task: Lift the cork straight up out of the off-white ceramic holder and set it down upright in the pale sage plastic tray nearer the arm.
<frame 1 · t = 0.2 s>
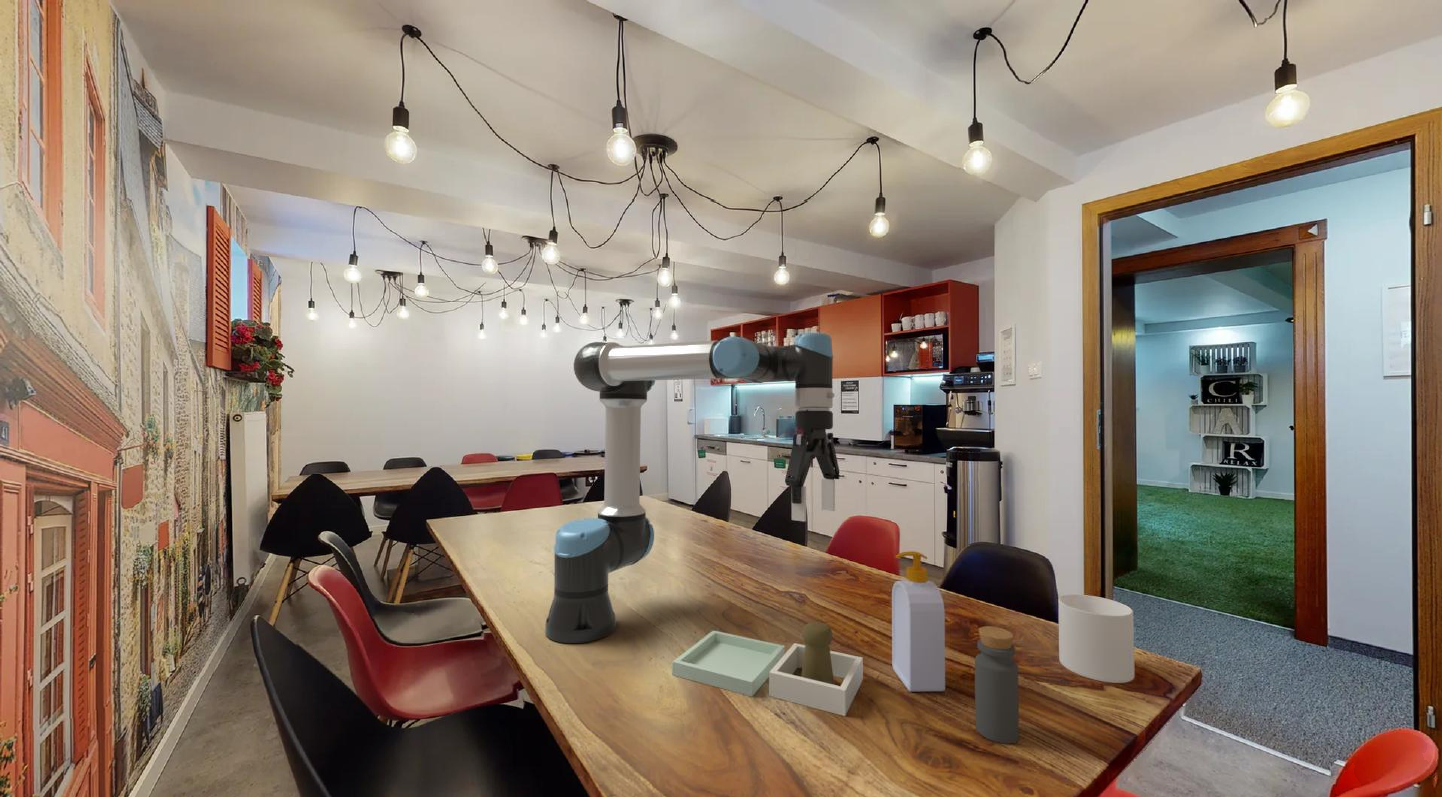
hand: (814, 515, 107), 28 cm above the table, fingers open, 13 cm apart
bottle: (996, 733, 80), on the table
cup: (1095, 668, 101), on the table
cork: (817, 688, 93), resting in holder
holder: (817, 687, 93), on the table
tray: (730, 666, 101), on the table
soap bottle: (915, 681, 96), on the table
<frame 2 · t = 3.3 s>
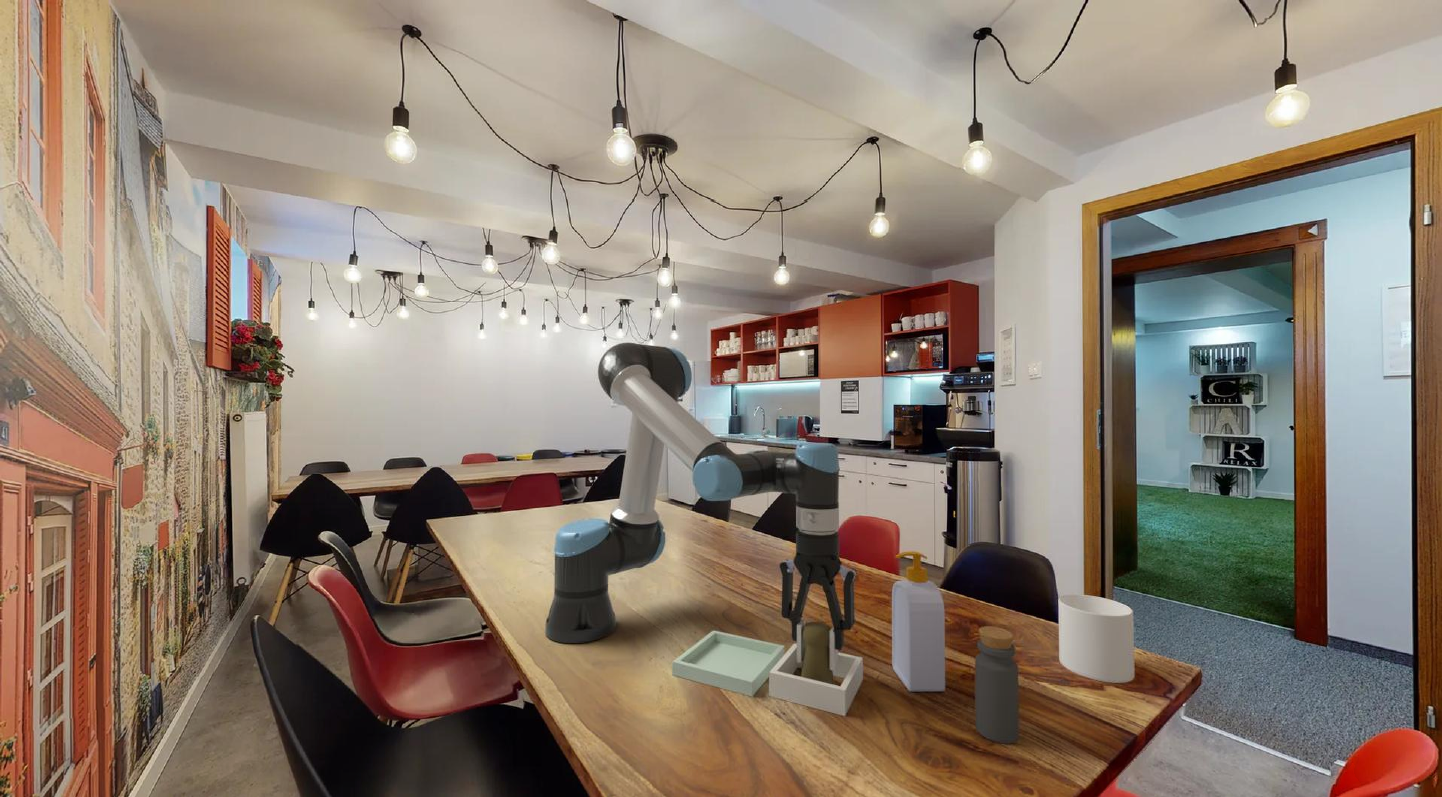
hand: (817, 662, 93), 4 cm above the table, fingers closed on cork, 5 cm apart
cork: (817, 688, 93), resting in holder, touching gripper
everything else where it was.
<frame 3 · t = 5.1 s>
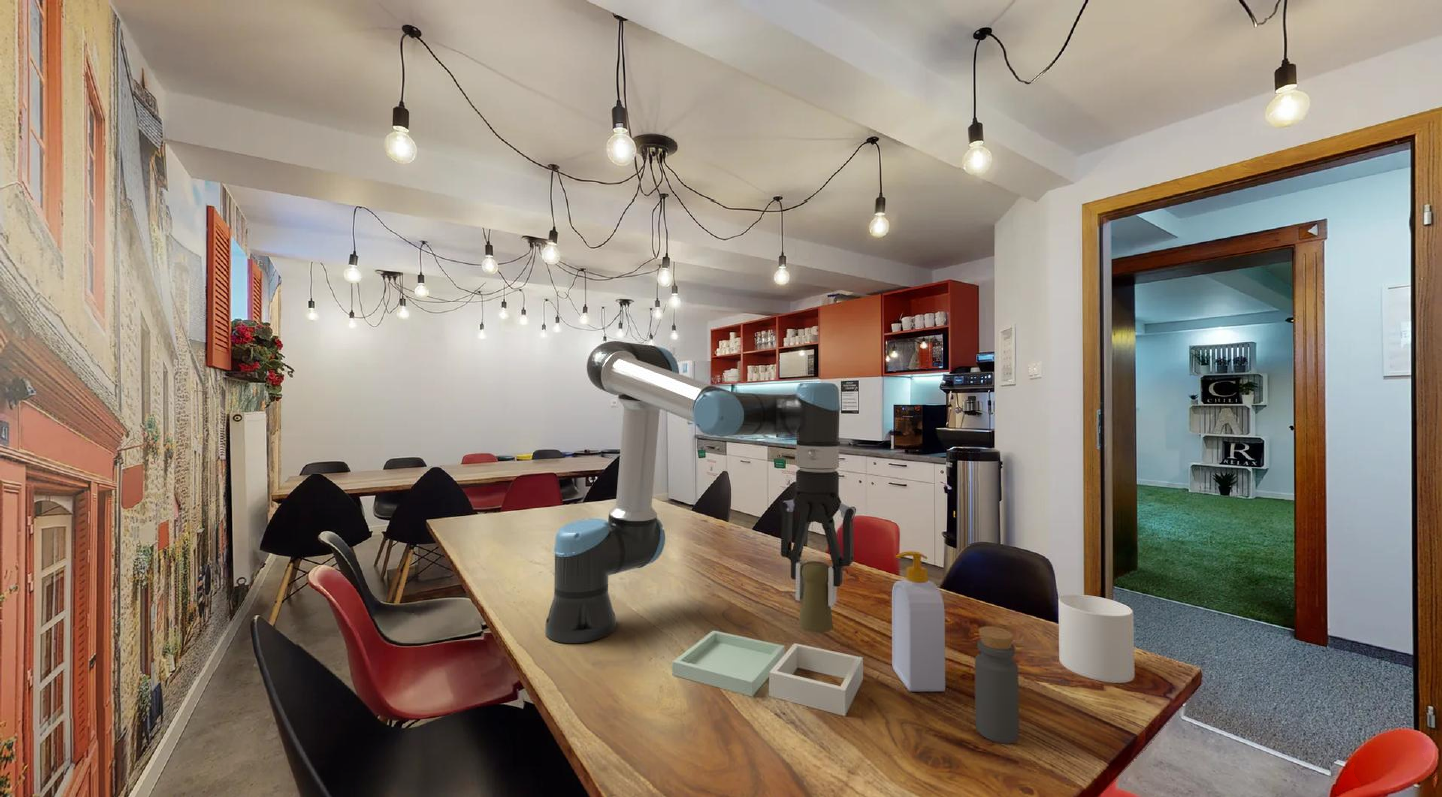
hand: (815, 600, 94), 15 cm above the table, fingers closed on cork, 5 cm apart
cork: (815, 626, 93), point 11 cm above the table, touching gripper
everything else where it was.
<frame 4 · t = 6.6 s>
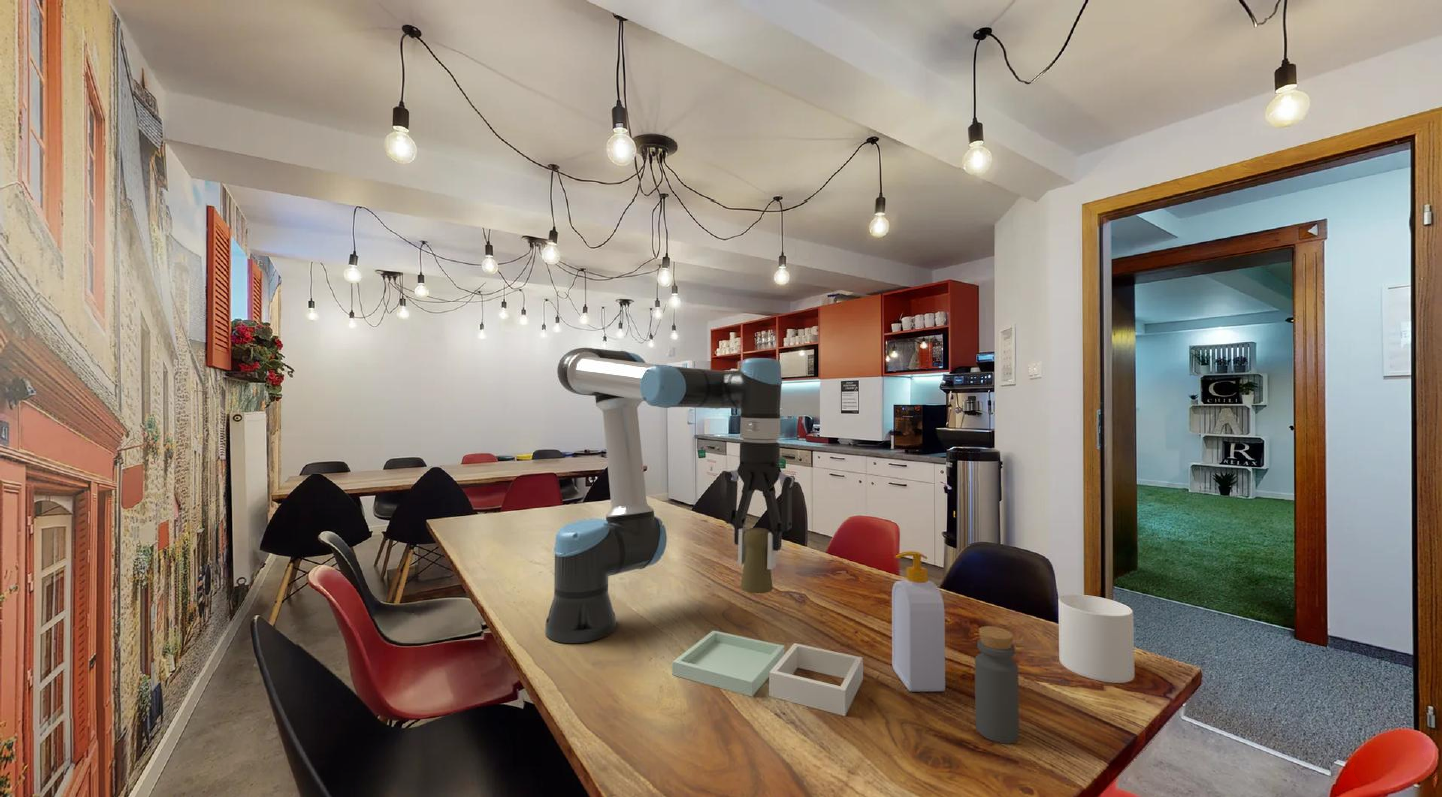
hand: (756, 564, 99), 20 cm above the table, fingers closed on cork, 5 cm apart
cork: (756, 588, 99), point 15 cm above the table, touching gripper
everything else where it was.
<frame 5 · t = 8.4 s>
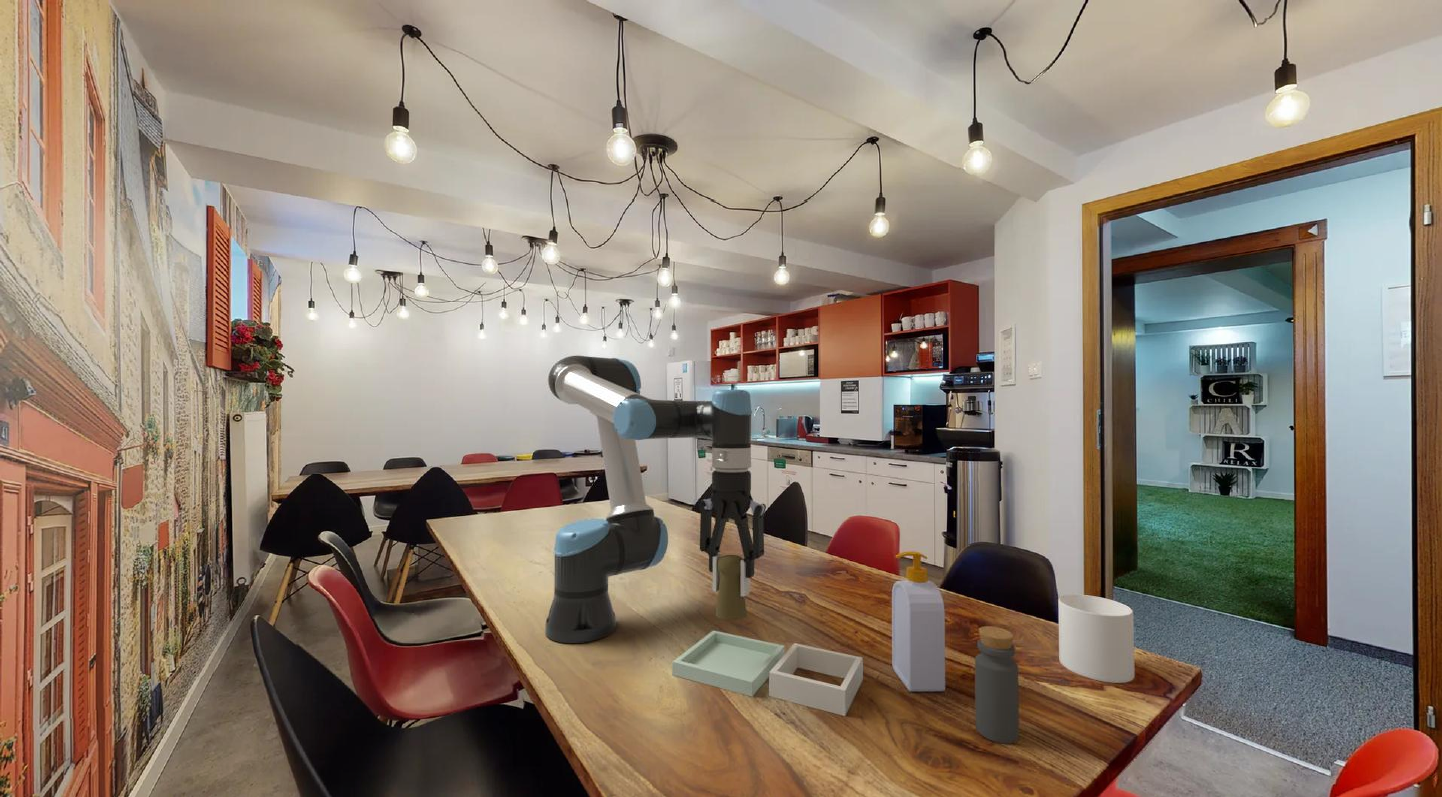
hand: (731, 591, 101), 14 cm above the table, fingers closed on cork, 5 cm apart
cork: (731, 615, 101), point 10 cm above the table, touching gripper
everything else where it was.
when the fingers open (6 cm above the table, at t = 10.1 s): cork drops 1 cm, resting on tray.
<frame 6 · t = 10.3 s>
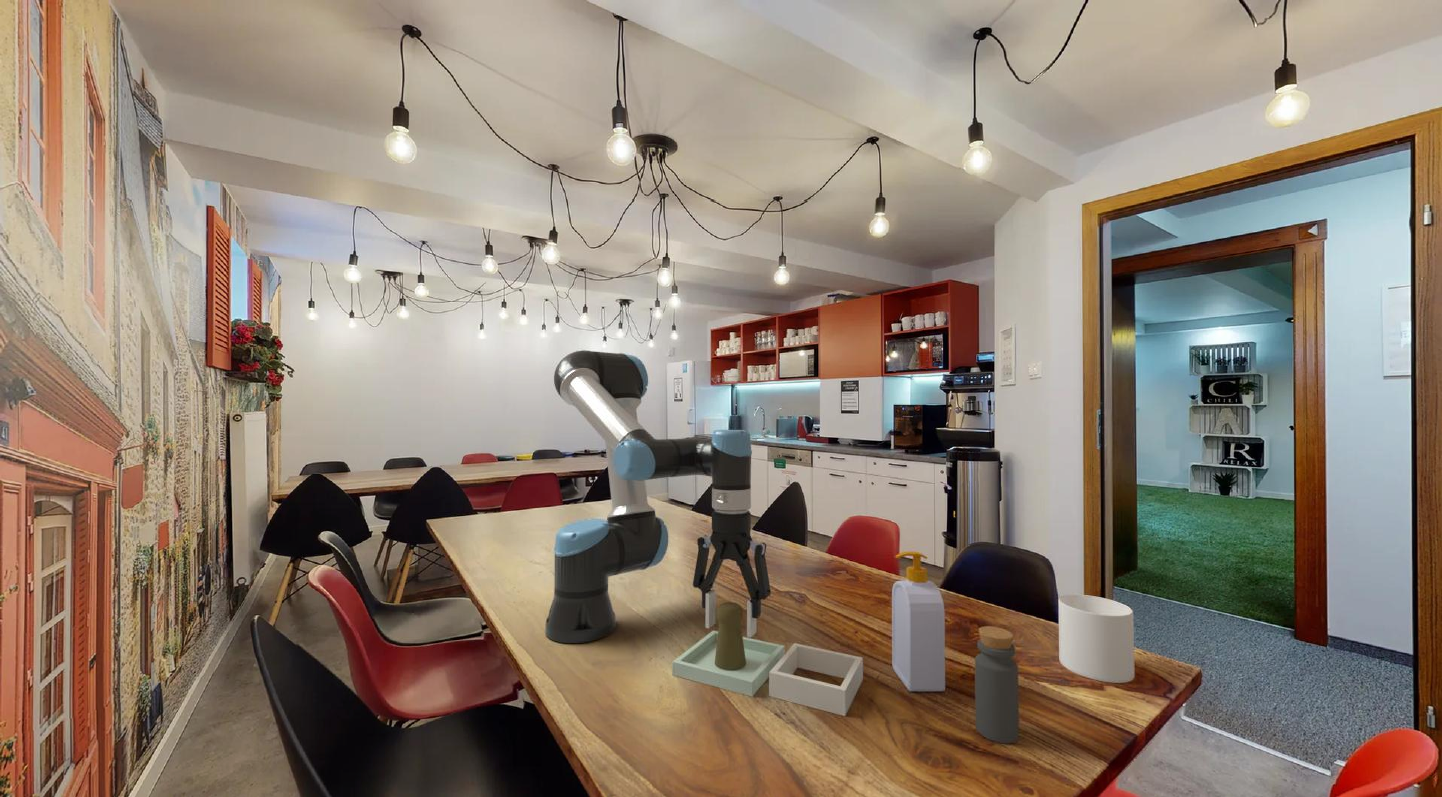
hand: (730, 629, 101), 7 cm above the table, fingers open, 8 cm apart
cork: (730, 663, 101), resting on tray
everything else where it was.
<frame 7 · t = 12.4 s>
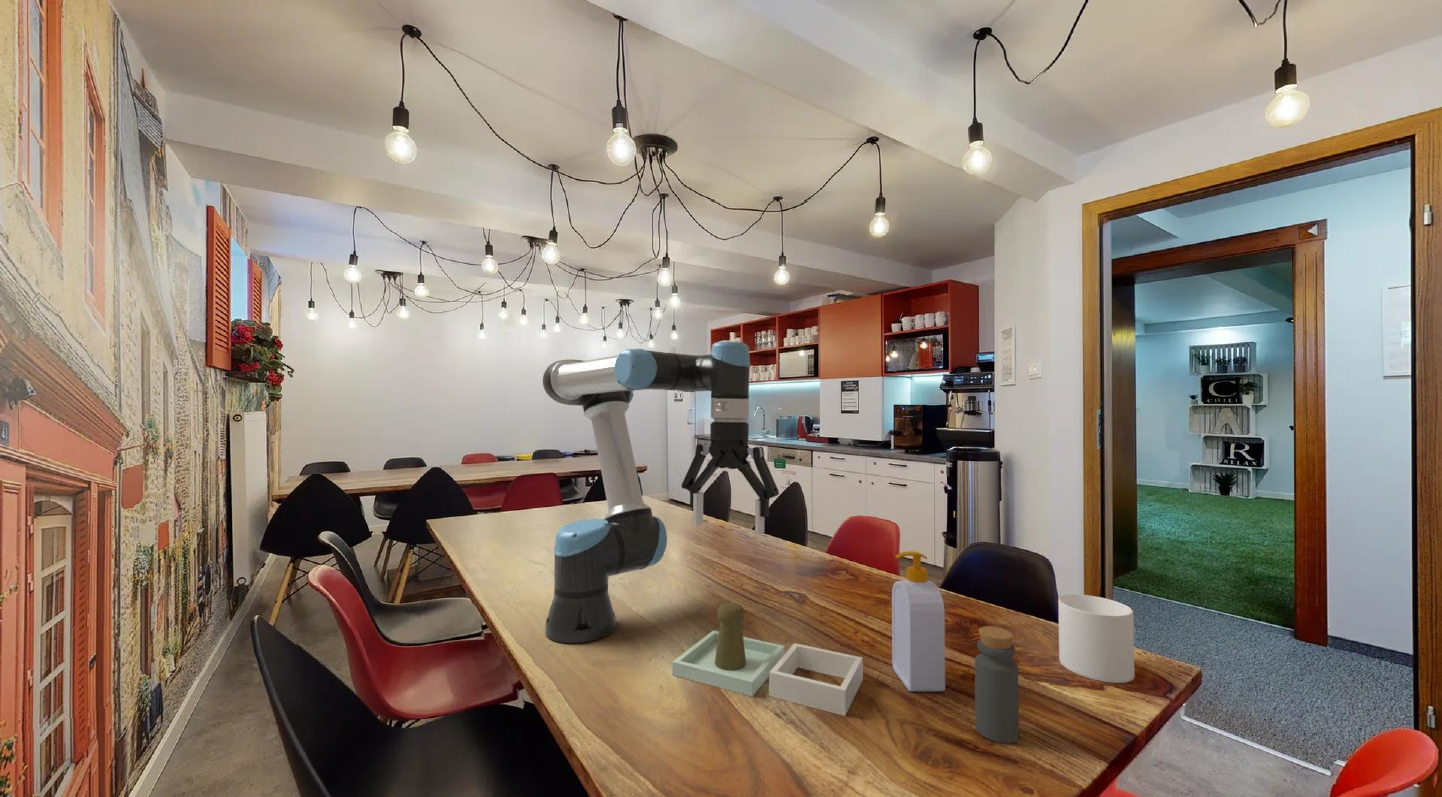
hand: (727, 529, 104), 25 cm above the table, fingers open, 13 cm apart
nothing on the table moved.
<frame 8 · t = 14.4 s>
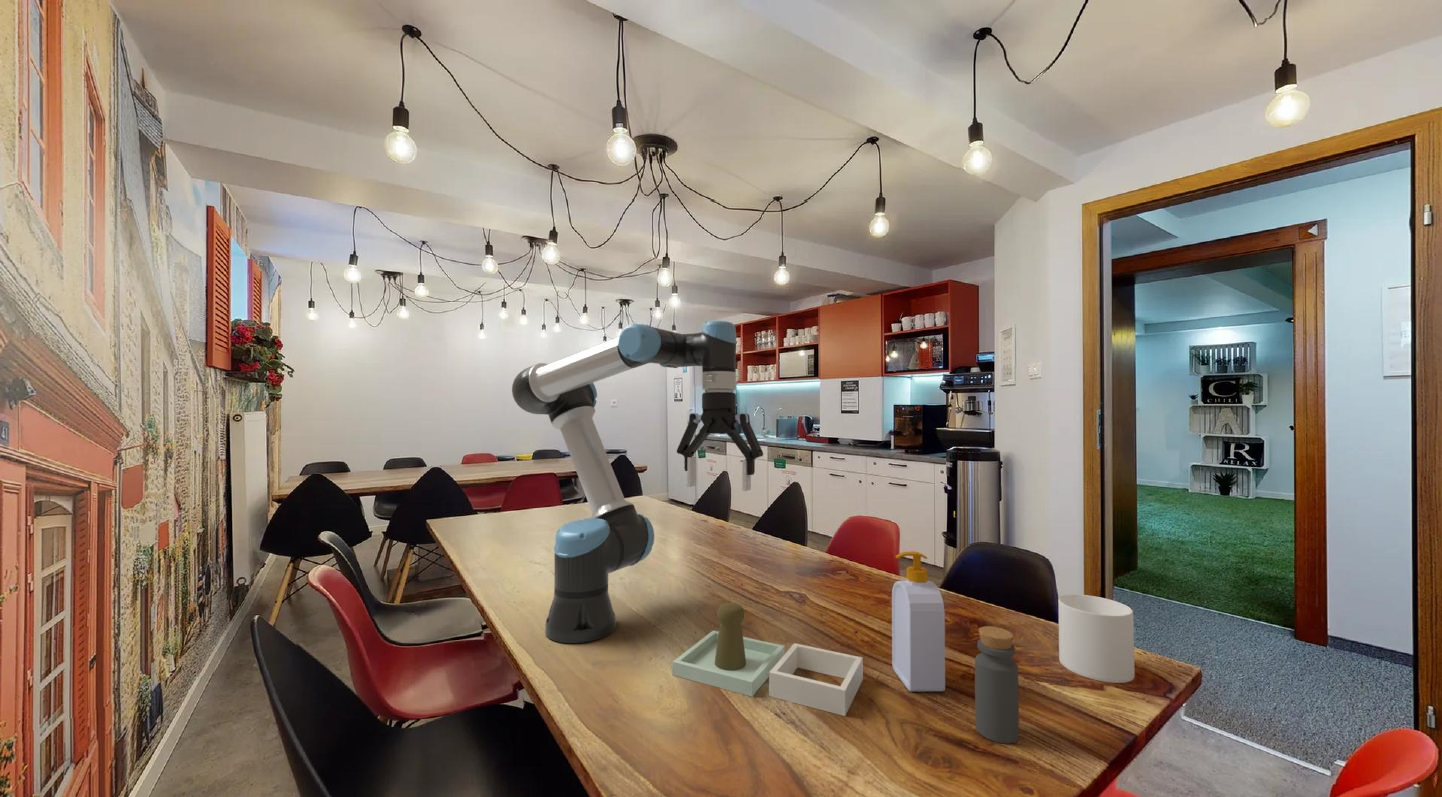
hand: (718, 488, 116), 32 cm above the table, fingers open, 13 cm apart
nothing on the table moved.
at the end: cork inside the target area on the tray (0.0 cm from its centre), point 0.4 cm above the tray's base; cork tilted 0°; the gripper is holding nothing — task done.
